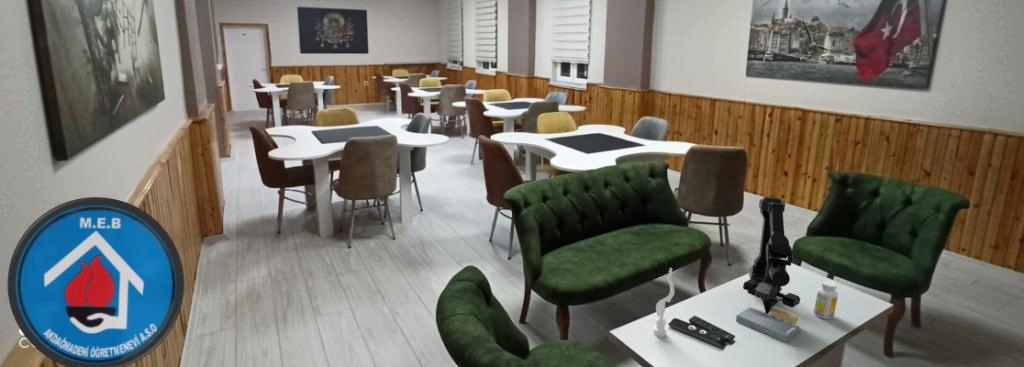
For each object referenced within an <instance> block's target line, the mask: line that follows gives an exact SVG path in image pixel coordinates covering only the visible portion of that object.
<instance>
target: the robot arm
mask: <svg viewBox="0 0 1024 367" xmlns="http://www.w3.org/2000/svg"><path fill="white" fill-rule="evenodd" d="M758 208H759V213H760V215H761V216H762V218H763V222H762V228H761V237H760V245H759V251H758V252H759V253H758V256H757V257H756V258H755V259H754V260H753V264H752V265H751V266H750V269H749V273H748V276H749V279H748V280H746V281H744V282H743V286H742V289H743V290H746V291H747V294H751V295H754V296H755V297H756V298H759V299H761V301H762V304H763V308H764V313H766V314H770V311H771V310H772V309H773V308H775V305H776V304H778V303H780V302H782V304H783V305H784V306H787V307H789V308H795V307H796V306H798V305H799V304H800V303H801V297H800V296H799V295H798V294H794V293H792V292H789V293H786V294H785V293H783V292H782V289H783V287H785V286H787V285H789V283H790V280H791V277H790V275H789V273H788V271H787V266H790V267H791V266H792V263H793V261H794V259H793V249H792V246H790V240H789V238H788V237H787V236H786V235H785V226H784V224H785V223H784V213H785V210H786V202H785V201H782V199H781V198H780V197H773V196H772V197H770V196H763V197H762V199H760V200H759V202H758Z"/></svg>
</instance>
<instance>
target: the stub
mask: <svg viewBox="0 0 1024 367" xmlns="http://www.w3.org/2000/svg"><path fill="white" fill-rule="evenodd" d="M769 314H770V315H773V316H774V317H778V318H780V319H781V320H785V321H788V322H789V323H791V324H795V325H797V322H798V318H799V317H798V316H799V315H797V314H795V313H793V312H792V313H791V312H789V311H787V310H785V309H782V308H779V307H775V306H774V307H773V308H772V310H771V311H770V313H769Z"/></svg>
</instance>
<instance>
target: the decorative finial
mask: <svg viewBox="0 0 1024 367" xmlns="http://www.w3.org/2000/svg"><path fill="white" fill-rule="evenodd" d="M672 275H673V268H672V267H670V268H669V270H668V275H667V276H666V277H667V278H666V279H667V282H668V286H669V293H668V295H667V296H666V297H664V298H661V299H660V300H658V301H657V303H656V304H655V311H656V315H657V318H655V323H656V325H655V326H654V327H653V335H655V336H657V337H659V338H660V337H661V338H663V337H666V336H667V328H666V327H665V326H666V324H667V320H666V318H664V314H665V313H666V312H665V310H666V302H667V303H670V302H672V298H673V297H674V295H675V286H674V283H673V280H672Z"/></svg>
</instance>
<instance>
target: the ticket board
mask: <svg viewBox="0 0 1024 367" xmlns="http://www.w3.org/2000/svg"><path fill="white" fill-rule="evenodd" d="M735 321H736V322H737V323H739V324H742V325H744V326H747V327H749V328H751V329H754V330H756V331H758V332H761V333H763V334H765V335H768V336H770V337H771V338H774V339H777V340H780V341H781V342H784V343H787V342H788V341H790V340H791V339H792V338H794V337H795V336H797V335H798V334H800V333H799V332H800V328H801V327H800V326H799V325H797V324H796V325H795V324H791V323H789V322H788V321H785V320H781V319H780V318H778V317H774V316H773V315H770V313H769V314H766V313H765V311H764V310H763V311H762V310H758V309H757V308H755V307H753V306H749V307H748V308H746V309H744V310H742V311H741V312H739V313H738V314H736V318H735Z"/></svg>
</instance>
